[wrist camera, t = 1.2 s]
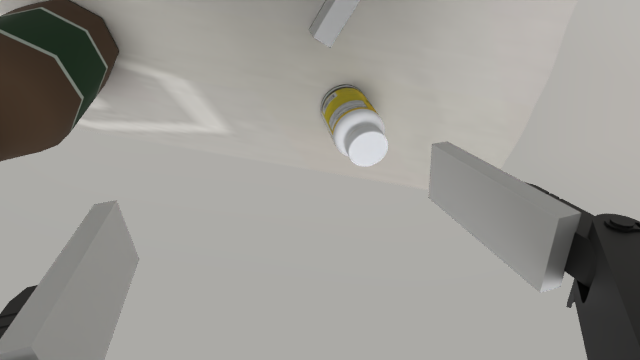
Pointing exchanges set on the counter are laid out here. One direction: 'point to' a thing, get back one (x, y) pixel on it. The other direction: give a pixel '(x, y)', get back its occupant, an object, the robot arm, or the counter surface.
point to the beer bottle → (49, 73)
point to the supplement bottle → (354, 125)
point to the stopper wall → (332, 20)
